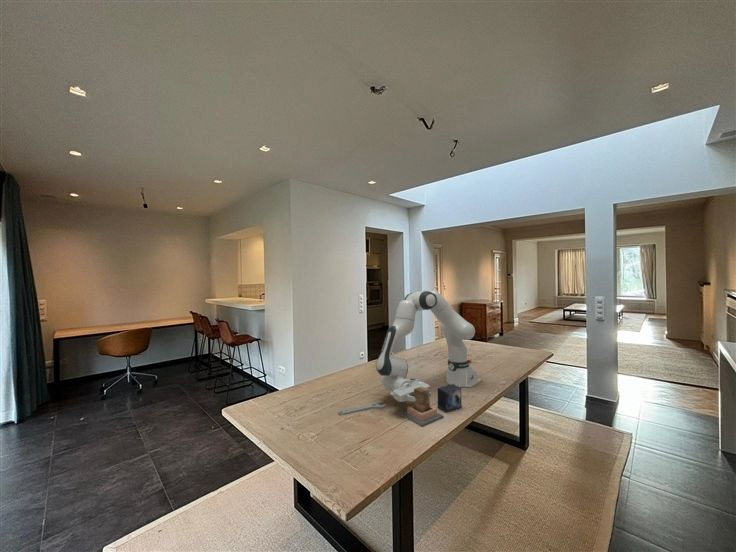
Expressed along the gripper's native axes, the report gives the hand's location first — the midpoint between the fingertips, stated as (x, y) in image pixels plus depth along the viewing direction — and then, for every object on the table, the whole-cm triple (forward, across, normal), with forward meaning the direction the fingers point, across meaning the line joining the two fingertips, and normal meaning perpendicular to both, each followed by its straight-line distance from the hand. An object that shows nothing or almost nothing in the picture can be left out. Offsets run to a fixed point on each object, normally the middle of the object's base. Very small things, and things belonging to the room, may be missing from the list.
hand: (423, 397), depth 137 cm
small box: (+1, +17, +10) cm, 20 cm away
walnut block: (-1, 0, +8) cm, 9 cm away
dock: (-1, 0, +10) cm, 10 cm away
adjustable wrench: (-24, -19, +10) cm, 33 cm away
